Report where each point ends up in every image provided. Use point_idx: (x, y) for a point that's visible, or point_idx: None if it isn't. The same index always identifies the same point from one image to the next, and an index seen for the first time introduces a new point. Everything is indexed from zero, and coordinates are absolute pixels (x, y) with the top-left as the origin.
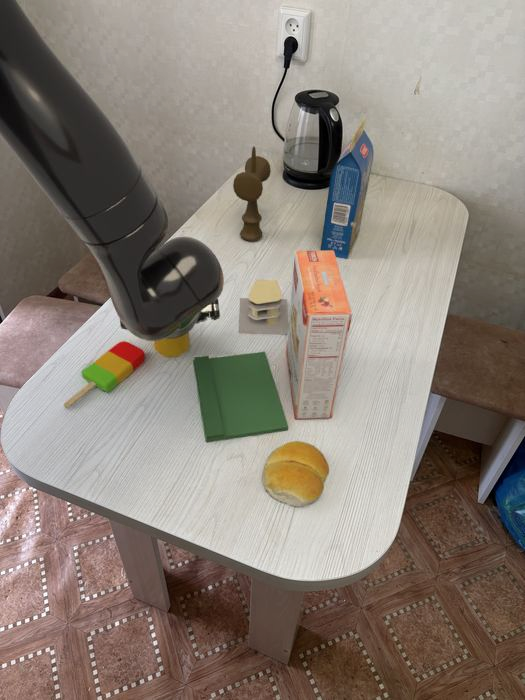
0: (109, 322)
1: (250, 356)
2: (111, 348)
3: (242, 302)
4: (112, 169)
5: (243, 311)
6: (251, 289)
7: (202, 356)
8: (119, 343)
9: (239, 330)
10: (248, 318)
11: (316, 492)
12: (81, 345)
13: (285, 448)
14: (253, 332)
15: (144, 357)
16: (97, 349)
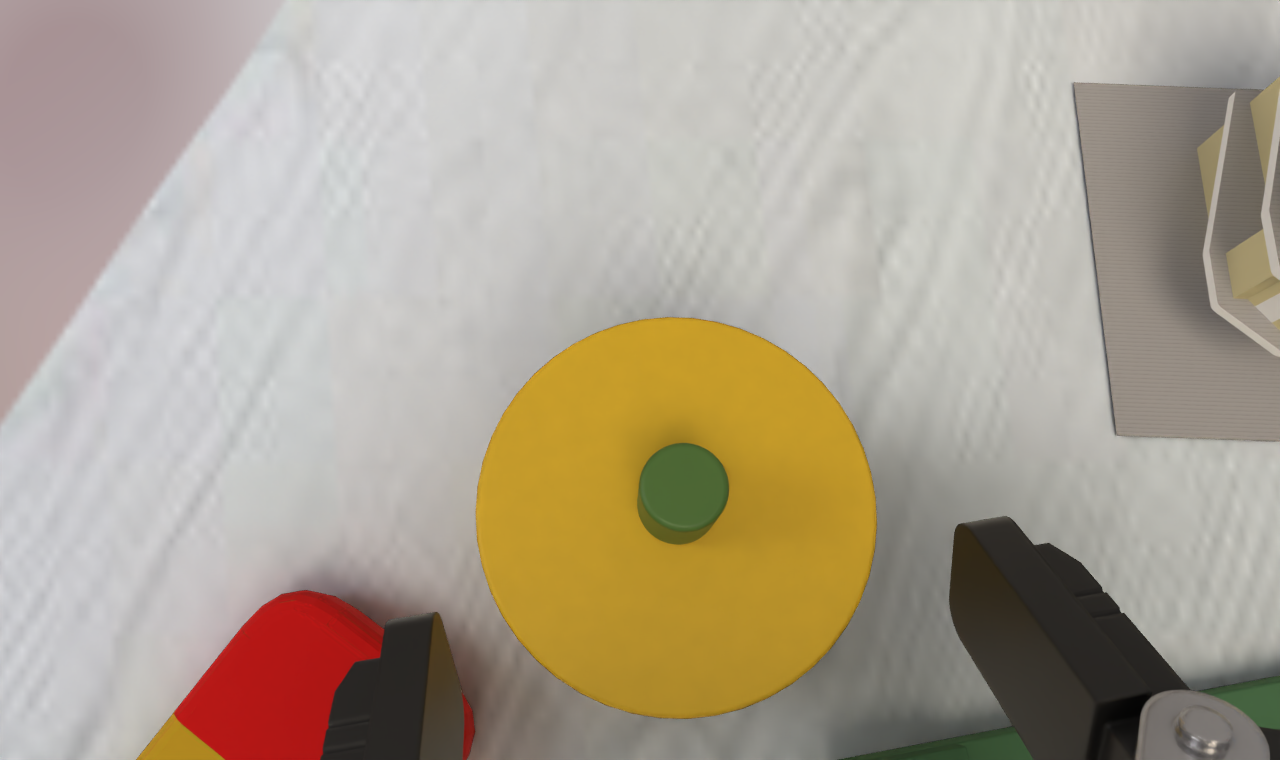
0: (196, 321)
1: (1267, 724)
2: (202, 686)
3: (1097, 126)
4: None
5: (1117, 214)
6: None
7: (919, 758)
8: (262, 630)
9: (1118, 406)
10: (1163, 285)
11: None
12: (3, 562)
13: None
14: (1221, 428)
15: (468, 746)
16: (120, 605)
